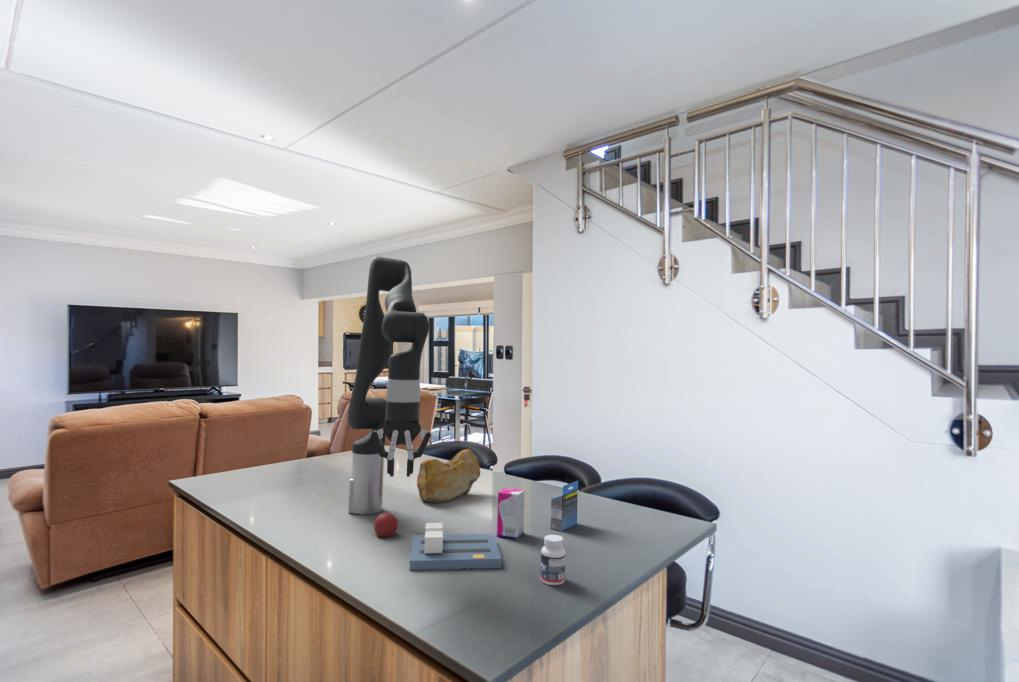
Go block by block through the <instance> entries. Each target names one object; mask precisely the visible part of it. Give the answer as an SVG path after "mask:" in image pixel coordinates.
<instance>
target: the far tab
mask: <svg viewBox="0 0 1019 682" xmlns="http://www.w3.org/2000/svg"><path fill="white" fill-rule="evenodd" d="M443 523H444V522H426V523H425V531H443V532H444V529H443V528H444V527H443ZM425 531H424V532H425Z"/></svg>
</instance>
